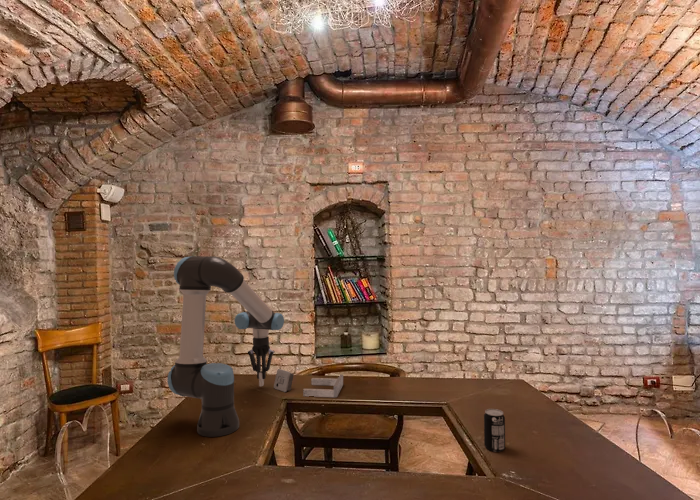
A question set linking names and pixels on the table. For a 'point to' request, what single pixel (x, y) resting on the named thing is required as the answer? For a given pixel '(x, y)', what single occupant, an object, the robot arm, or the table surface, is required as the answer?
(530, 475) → the table surface
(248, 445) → the table surface
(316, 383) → the aluminium bracket
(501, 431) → the beverage can
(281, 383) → the electrical switch
